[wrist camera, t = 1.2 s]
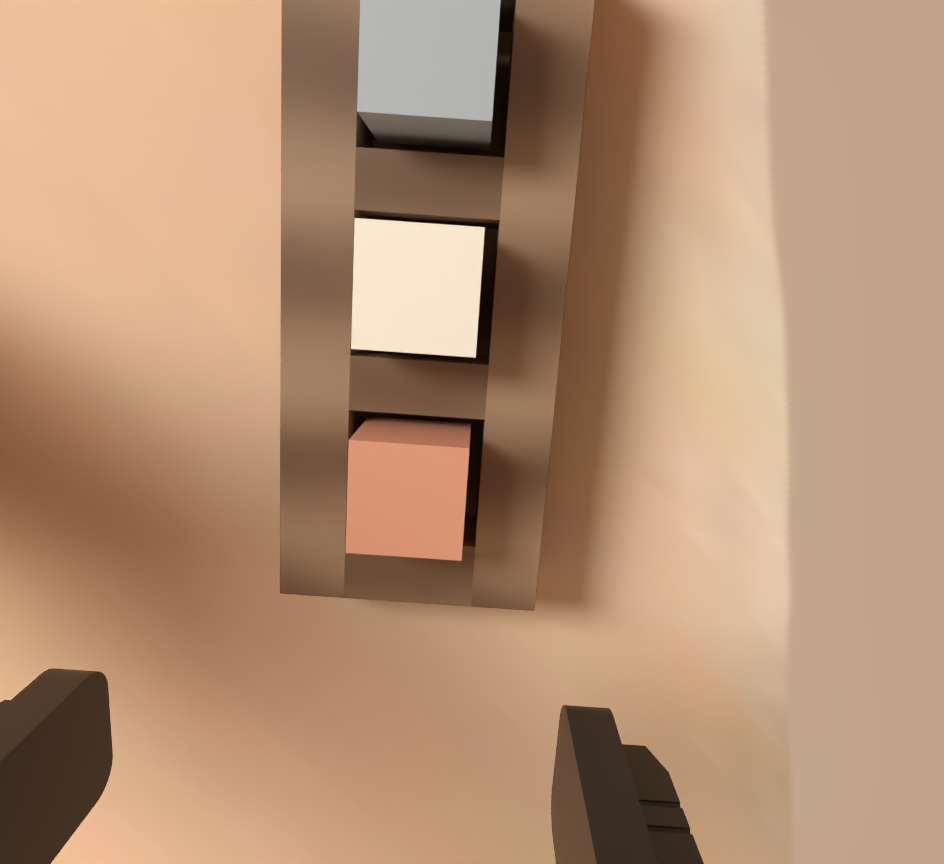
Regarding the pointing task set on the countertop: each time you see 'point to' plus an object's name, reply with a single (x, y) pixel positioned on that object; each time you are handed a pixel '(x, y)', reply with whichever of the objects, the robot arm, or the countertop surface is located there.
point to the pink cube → (407, 488)
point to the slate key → (428, 71)
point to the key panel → (500, 310)
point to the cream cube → (416, 287)
